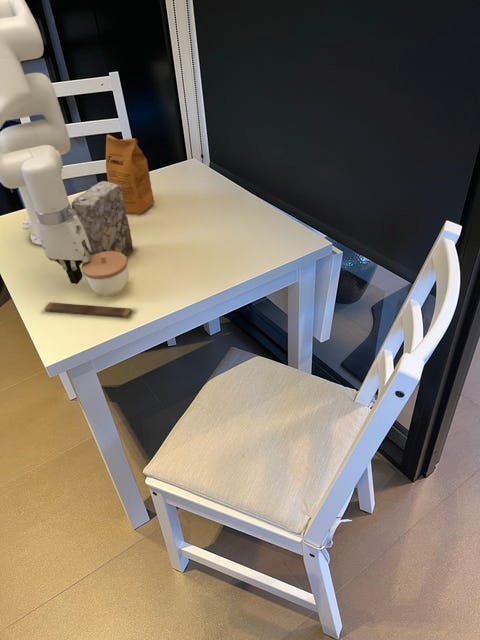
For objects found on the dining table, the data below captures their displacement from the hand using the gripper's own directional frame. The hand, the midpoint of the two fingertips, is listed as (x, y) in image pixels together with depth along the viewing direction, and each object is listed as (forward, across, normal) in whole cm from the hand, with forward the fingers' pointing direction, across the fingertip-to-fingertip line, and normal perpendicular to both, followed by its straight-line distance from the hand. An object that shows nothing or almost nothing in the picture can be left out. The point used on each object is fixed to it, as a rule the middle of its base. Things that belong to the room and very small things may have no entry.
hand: (76, 280), depth 128 cm
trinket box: (+3, -8, -1) cm, 9 cm away
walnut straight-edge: (+2, -6, +8) cm, 11 cm away
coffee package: (+2, +3, -44) cm, 44 cm away
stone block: (+3, -4, -13) cm, 14 cm away
